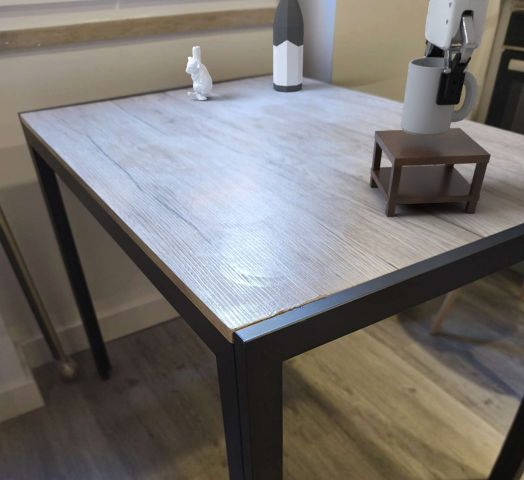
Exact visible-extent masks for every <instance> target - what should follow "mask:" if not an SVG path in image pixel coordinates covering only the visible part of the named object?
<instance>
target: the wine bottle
mask: <svg viewBox="0 0 524 480" xmlns="http://www.w3.org/2000/svg"><path fill="white" fill-rule="evenodd" d="M304 33H305V23H304V18H303V13H302V9H301V6H300V2H299V1H298V0H279V2H278V4H277V7H276V10H275V13H274V17H273V22H272V65H273V66H272V68H273V69H272V77H273V78H272V81H273V82H272V84H273V89H274V90H275V91H276V92H282V93H292V92H299V91H301V90H302V89H303V71H304V69H303V68H304V36H305V35H304Z"/></svg>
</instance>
